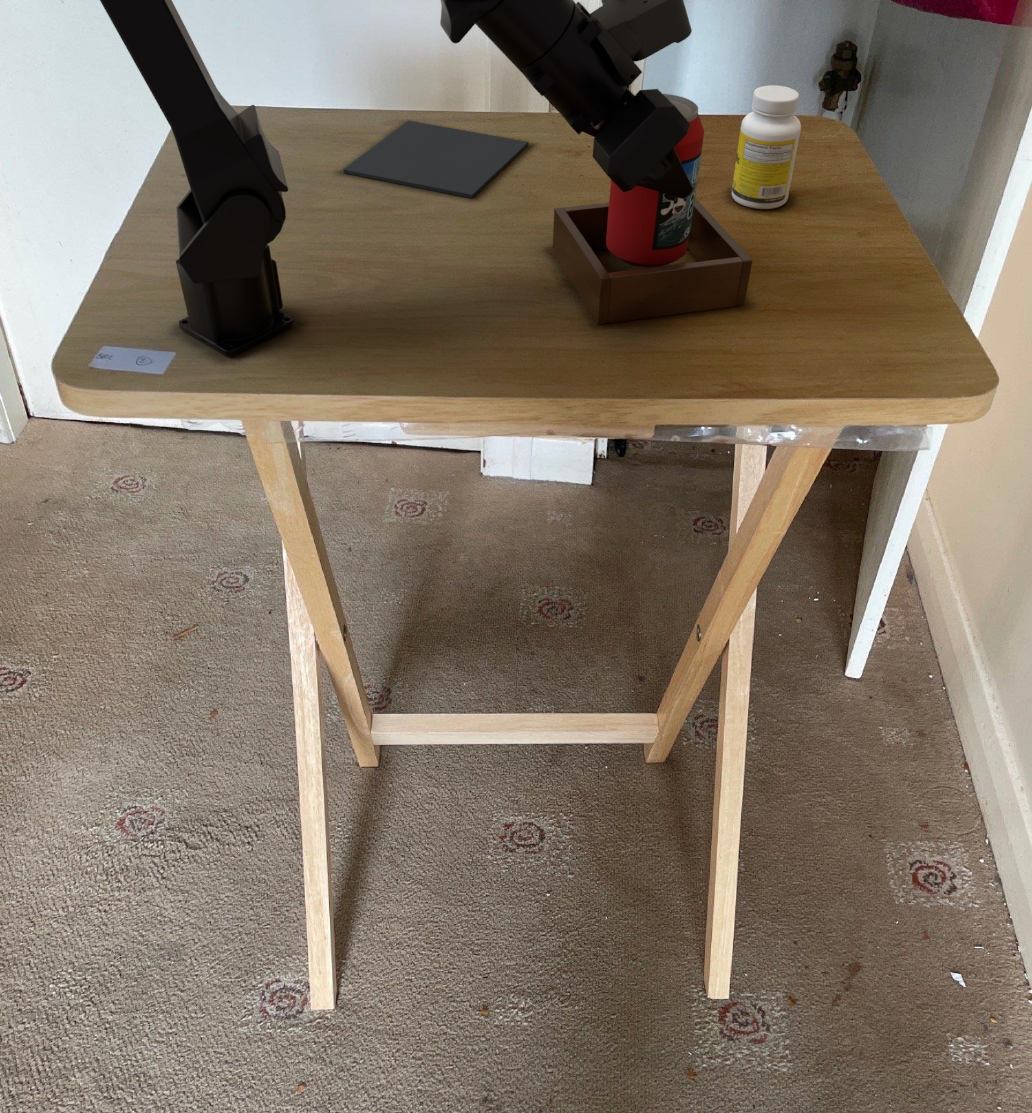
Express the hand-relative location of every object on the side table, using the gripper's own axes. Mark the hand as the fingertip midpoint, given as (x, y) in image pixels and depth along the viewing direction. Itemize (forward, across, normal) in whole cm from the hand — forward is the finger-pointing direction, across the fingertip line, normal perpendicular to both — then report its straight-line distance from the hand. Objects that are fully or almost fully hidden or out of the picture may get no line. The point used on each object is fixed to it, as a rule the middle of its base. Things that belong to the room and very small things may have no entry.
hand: (671, 174), depth 82 cm
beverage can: (+4, 0, +6) cm, 7 cm away
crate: (+5, 0, +7) cm, 9 cm away
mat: (-3, +28, +16) cm, 32 cm away
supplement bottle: (+17, +12, -4) cm, 21 cm away
